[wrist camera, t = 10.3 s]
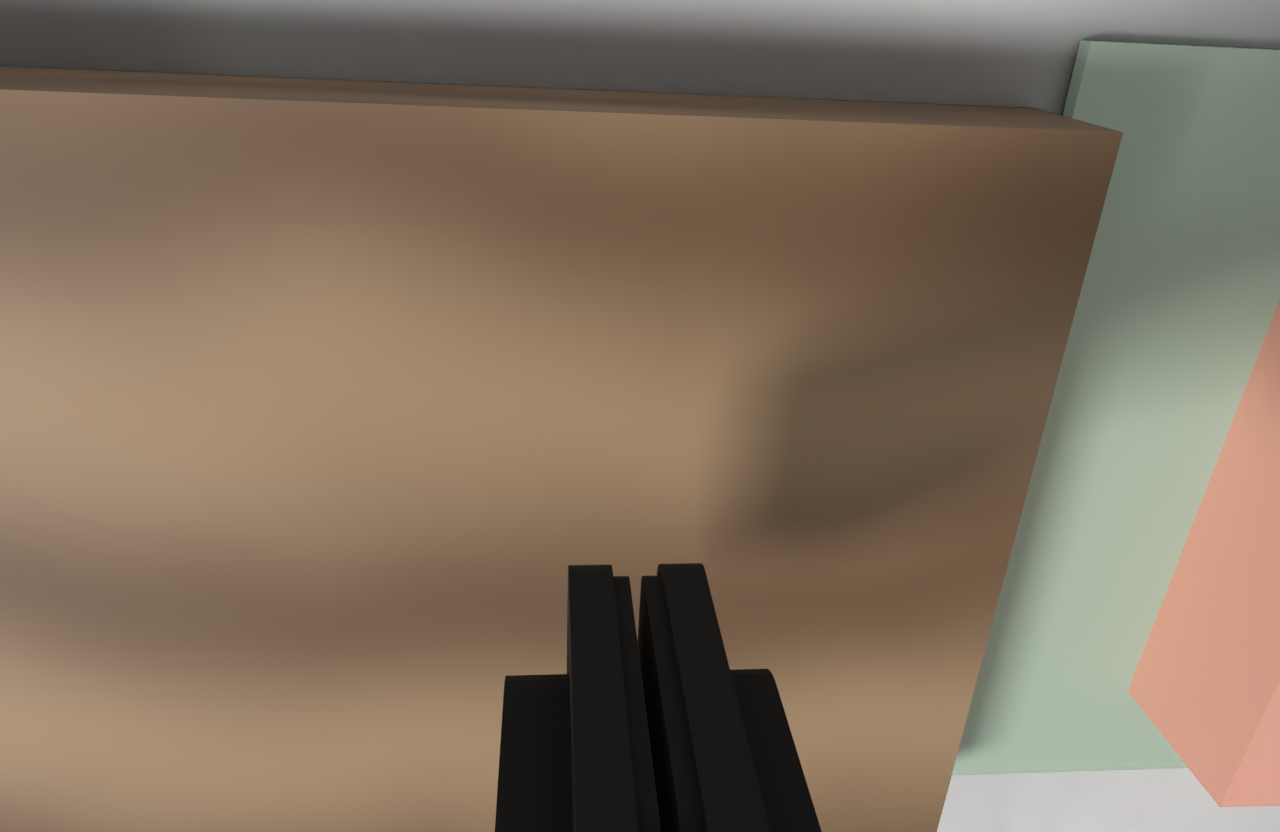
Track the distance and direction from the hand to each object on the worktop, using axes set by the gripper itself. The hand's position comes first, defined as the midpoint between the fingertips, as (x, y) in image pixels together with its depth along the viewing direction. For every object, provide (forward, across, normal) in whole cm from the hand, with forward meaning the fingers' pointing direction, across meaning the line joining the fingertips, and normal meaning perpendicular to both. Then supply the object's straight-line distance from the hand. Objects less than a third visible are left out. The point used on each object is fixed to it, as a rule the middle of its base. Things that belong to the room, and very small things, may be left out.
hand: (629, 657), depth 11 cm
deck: (+5, +2, +1) cm, 6 cm away
